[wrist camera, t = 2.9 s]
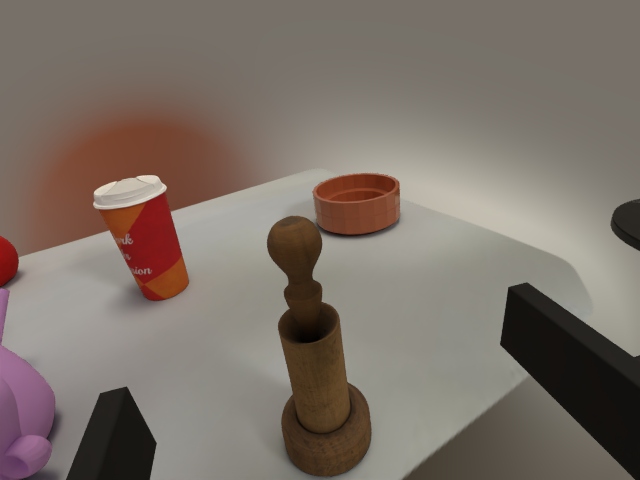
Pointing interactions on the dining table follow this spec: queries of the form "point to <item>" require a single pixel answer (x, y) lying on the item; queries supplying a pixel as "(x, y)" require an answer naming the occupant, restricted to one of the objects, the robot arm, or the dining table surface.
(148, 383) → the dining table surface
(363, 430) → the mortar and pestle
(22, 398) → the teapot
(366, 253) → the dining table surface
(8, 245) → the fruit
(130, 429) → the robot arm
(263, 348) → the dining table surface
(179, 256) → the coffee cup
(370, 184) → the bowl
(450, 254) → the dining table surface
